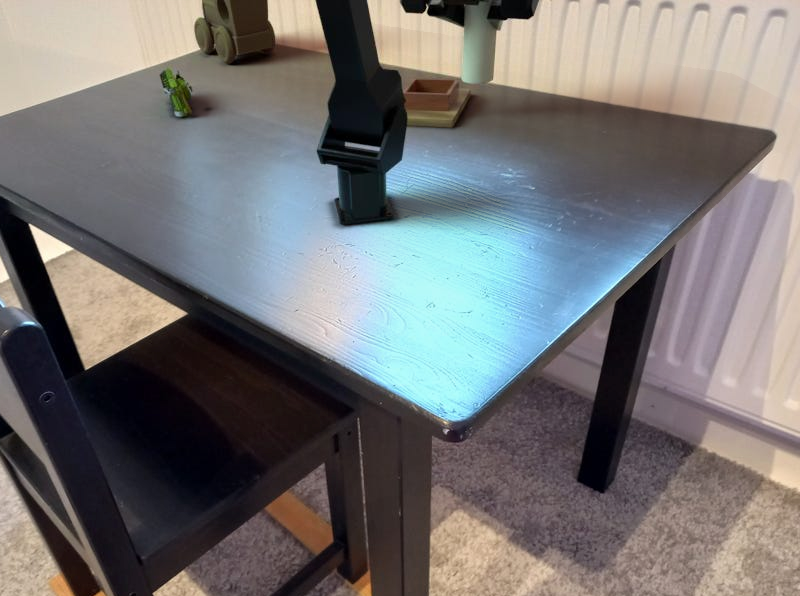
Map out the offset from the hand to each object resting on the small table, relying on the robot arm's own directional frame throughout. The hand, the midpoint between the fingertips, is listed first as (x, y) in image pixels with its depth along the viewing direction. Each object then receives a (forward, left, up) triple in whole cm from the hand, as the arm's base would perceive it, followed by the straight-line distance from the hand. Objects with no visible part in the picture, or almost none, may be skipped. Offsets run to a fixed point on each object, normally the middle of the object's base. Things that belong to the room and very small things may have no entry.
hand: (484, 26), depth 101 cm
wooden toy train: (+48, +38, -12) cm, 62 cm away
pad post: (-1, +1, -7) cm, 7 cm away
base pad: (+3, +7, -12) cm, 14 cm away
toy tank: (+21, +47, -12) cm, 53 cm away
